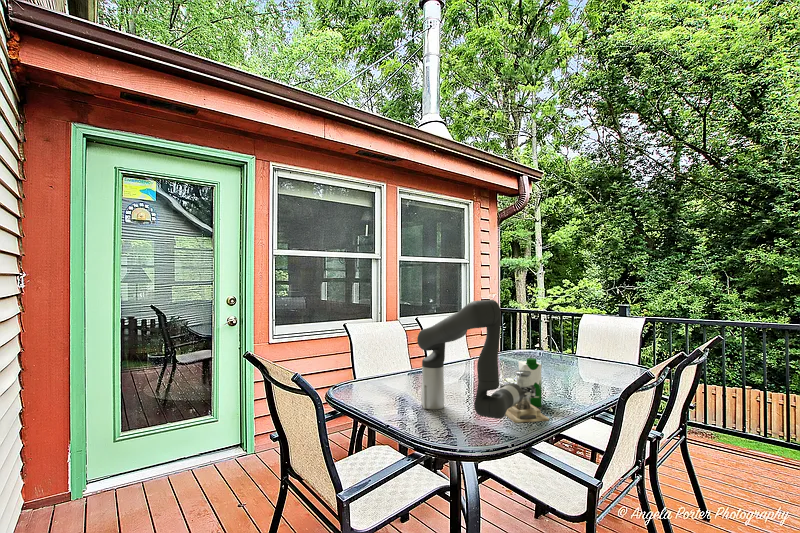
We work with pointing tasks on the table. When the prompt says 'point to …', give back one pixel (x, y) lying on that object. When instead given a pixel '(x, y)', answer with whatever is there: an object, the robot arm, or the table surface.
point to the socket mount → (525, 414)
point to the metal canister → (522, 380)
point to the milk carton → (533, 378)
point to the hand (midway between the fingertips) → (525, 386)
